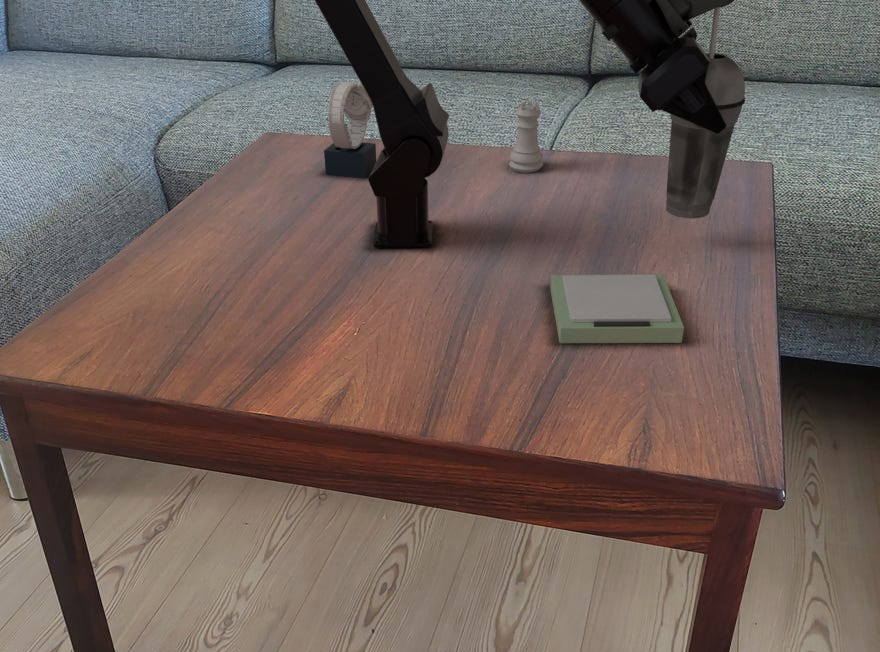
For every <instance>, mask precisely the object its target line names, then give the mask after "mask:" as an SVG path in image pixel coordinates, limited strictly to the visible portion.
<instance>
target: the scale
mask: <svg viewBox="0 0 880 652" xmlns="http://www.w3.org/2000/svg"><path fill="white" fill-rule="evenodd" d="M549 288H550V295H551V300H552V301H551V302H552V307H553V313H554V318H555V324H556V331H557V337H558V343H559V344H674V343H675V344H682V342H683V338H684V331H685V326H684V323H683V321H682V319H681V316H680V313H679V311H678V307H677V306H676V303H675V300H674V298H673V296H672V293H671V291H670V287H669V285H668V283H667V280H666V279H665V276H664V274H663V273H638V274H637V273H635V274H634V273H631V274H629V273H628V274H627V273H626V274H623V273H622V274H621V273H619V274H618V273H617V274H615V273H614V274H551V275H550V287H549Z"/></svg>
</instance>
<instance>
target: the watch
mask: <svg viewBox="0 0 880 652" xmlns="http://www.w3.org/2000/svg"><path fill="white" fill-rule="evenodd" d="M372 108H373V104H372V102H371V99H370V98H369V96H368V94H367V92H366V91H365V89H364V87H363V85H362V83H359V82H355V81H345V82H344V81H343V82H337V83H336V84H335V85H334V86H333V88H332V90H331V93H330V97H329V102H328V113H327V114H328V123H327V125H328V126H327V127H328V130H329V135H330V137H331V140H332V144H330V145H329V146H328V147H326V148H325V149H324V150H323V155H324V168H325V175H328V176H338V177H349V178H357V179H358V178H359V179H366V178H367V177H369V176H370V174H371V172H372V170H373V168H374V166H375V163H376V161H377V145H376V143H373V142H363V141H364V139H365V137H366V136H365V135H366V132H367V127H368V121H370V119H371V114H372ZM345 118H346V119H347V120H349V127H348V124H347V123H346V122H345Z"/></svg>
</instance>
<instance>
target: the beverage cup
mask: <svg viewBox="0 0 880 652" xmlns="http://www.w3.org/2000/svg"><path fill="white" fill-rule="evenodd" d="M720 10H721V7H717V8H715V9H713V16H712V26H711V33H710V42H709V48H708V49H709V51H708V53H706V54H707V57H708V59H709V61H710V65H709V68H708V70H707V75H706V79H705V83H706V85H707V87H708V89H709V91H710V93H711V95H712V97H713V99H714V101H715V103H716V105H717V107H718V109H719V111H720V113H721V115H722V117H723V119H724V121H725V123H726V128H725V129H724V130H722V131H721V132H720V133H718V134H716V133H714V132H712V131H709V130H707V129H705V128H703V127H700V126H698V125H696V124H694V123H691V122H689V121H687V120H684V119H682V118H679V117H677V116H675V115H672V114H670V115H669V116H670V120H671V121H670V122H671V124H670V138H669V152H668V167H667V181H666V195H665V196H666V204H665V205H666V206H665V211H666V212H667V213H668V214H670V215H671V216H674V217H677V218H682V219H701V218H704V217H705V218H706V217H707V216H708V215H709V214H710V211H711V207H712V205H713V201H714V199H715V197H716V194H717V190H718V186H719V182H720V179H721V175H722V172H723V169H724V165H725V160H726V158H727V153H728V150H729V147H730V143H731V140H732V136H733V133H734V128H735V126H736V123H737V122H738V119H739V118H740V115H741V112H742V109H743V105H744V104H746V97H745V95H746V85H745V84H746V83H745V79H744V74H743V72H742V70H741V68H740V66H739V65H738V64H737V62H736V61H734V60H733V59H732V58H731V57H730V56H727V55H725V54H723V53H716V52H715V51H716V44H717V43H716V42H717V35H718V27H719V20H720V19H719V18H720Z"/></svg>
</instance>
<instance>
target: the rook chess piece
mask: <svg viewBox="0 0 880 652" xmlns="http://www.w3.org/2000/svg"><path fill="white" fill-rule="evenodd" d="M541 114H542V110H541V109H540V104H539V103H538V102H533V101H527V104H526V102H525V101H523V102H520V103H519V104H518V108H517V109H516V111H515V115H516V116H517V118H518V122H517V123H516V126H517V136H516V142H515V145H514V147H513V150H512V151H511V153H510V154H509V159H510V161H509V163H508V165H509V167H510V169H511V170H512V171H514V172H517V173H524V174H525V173H526V174H528V173H534V172H538V171H540V170H541V169H542V168H543V166H544V163H543V161H542V160H543V158H544V155H543V153H542V152H541V148H540V146H539V141H538V127H539V126H540V124H539V122H538V119H539V117H540V115H541Z"/></svg>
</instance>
